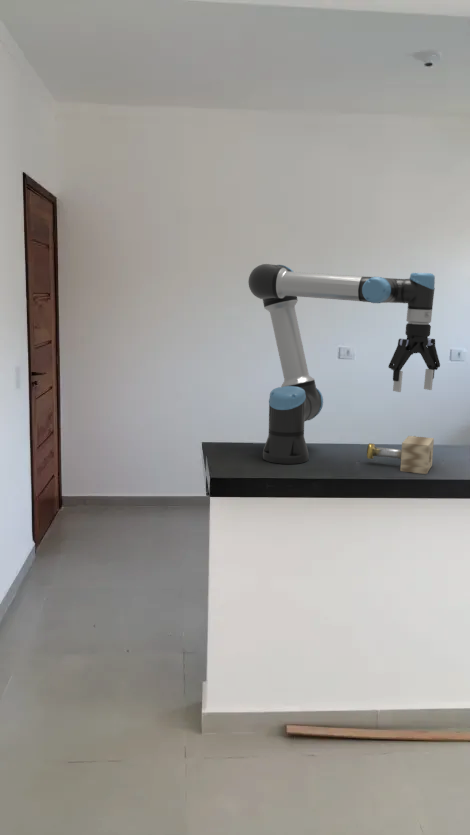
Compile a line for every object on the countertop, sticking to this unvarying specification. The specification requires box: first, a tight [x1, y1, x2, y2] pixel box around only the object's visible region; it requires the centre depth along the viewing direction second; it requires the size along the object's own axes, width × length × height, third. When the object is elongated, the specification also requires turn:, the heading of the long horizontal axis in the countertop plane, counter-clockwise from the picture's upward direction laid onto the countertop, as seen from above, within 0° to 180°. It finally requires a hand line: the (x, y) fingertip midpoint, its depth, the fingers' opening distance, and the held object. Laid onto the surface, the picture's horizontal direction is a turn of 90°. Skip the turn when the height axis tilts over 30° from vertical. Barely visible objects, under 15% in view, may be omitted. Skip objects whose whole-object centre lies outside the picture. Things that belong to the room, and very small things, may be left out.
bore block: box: [400, 435, 435, 475], centre depth 220 cm, size 8×12×9 cm, turn 157°
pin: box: [366, 442, 402, 460], centre depth 223 cm, size 14×5×5 cm, turn 67°
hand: (412, 390), depth 221 cm, fingers open, 13 cm apart
